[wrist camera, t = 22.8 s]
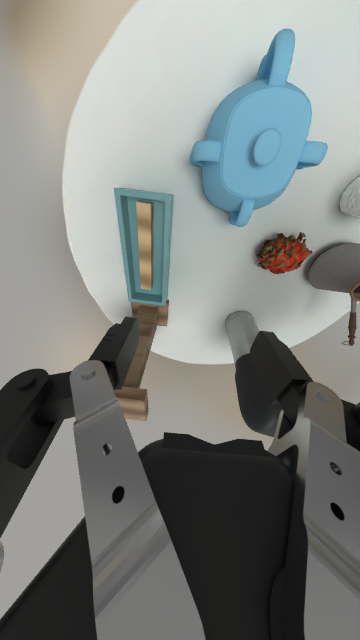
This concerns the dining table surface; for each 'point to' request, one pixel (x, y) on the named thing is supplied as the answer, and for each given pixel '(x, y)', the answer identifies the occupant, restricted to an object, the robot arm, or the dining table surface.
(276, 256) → the dragon fruit
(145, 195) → the tray
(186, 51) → the dining table surface
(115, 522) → the robot arm
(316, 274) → the coffee pot
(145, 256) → the bar
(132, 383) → the stand
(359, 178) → the white cup
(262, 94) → the decorative pot
